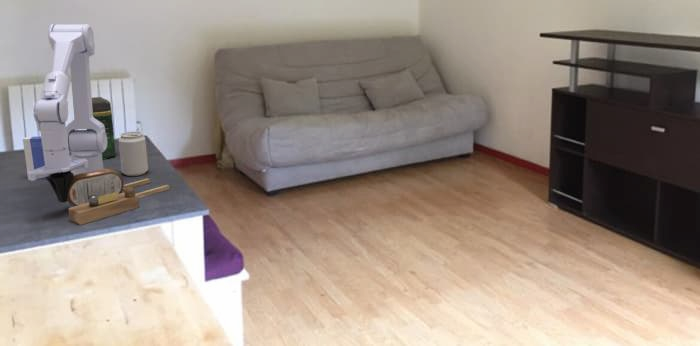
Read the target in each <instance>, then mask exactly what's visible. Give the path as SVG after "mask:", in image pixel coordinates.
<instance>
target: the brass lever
mask: <svg viewBox="0 0 700 346" xmlns="http://www.w3.org/2000/svg"><path fill="white" fill-rule="evenodd" d="M88 199H89V206H98V205H99V204H103V203H107V202H110V201H114V200H118V194H117V193H116V192H113V193H109V194H105V195H101V196H98V195H90V196H88Z"/></svg>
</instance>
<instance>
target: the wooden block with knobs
mask: <svg viewBox="0 0 700 346" xmlns="http://www.w3.org/2000/svg"><path fill="white" fill-rule="evenodd" d="M123 191H124V192H122V193H121V194H118V200H114V201H110V202H107V203H103V204H99V205H98V206H89V203H86V204H82V205H79V206H72V207H69V208H68V216H69V217H68V218H69V221H71V222H73V223H76V224H78V225H80V226H82V225H85V224H89V223H92V222H96V221H99V220H102V219H105V218H108V217H112V216H115V215H118V214H121V213H125V212H127V211H131V210H134V209H138V208H140V200H139V199H140V198H138V196H137V195H135V194H136V192H135V191H136V190H135V187H128V188H125V189H124V190H123Z"/></svg>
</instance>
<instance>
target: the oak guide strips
mask: <svg viewBox="0 0 700 346" xmlns="http://www.w3.org/2000/svg"><path fill="white" fill-rule="evenodd" d="M150 183H151V180H150V178H144V179H141V180H137V181H134V182H130V183H129V182H128V183H127V184H126V183H124V187H123V191H124V189H125V188H128V187H133V188H136V187H139V186H143V185H146V184H150ZM167 190H170V185H168V184H165V185H162V186H159V187H155V188H152V189H148V190H144V191H142V192H138V193H135V195H137V196H138V199H140V198H145V197H147V196H151V195H155V194H157V193H161V192H164V191H167Z"/></svg>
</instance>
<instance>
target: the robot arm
mask: <svg viewBox="0 0 700 346" xmlns="http://www.w3.org/2000/svg"><path fill="white" fill-rule="evenodd" d="M47 33H48V34H47V35H48V41H49V42H48V43H49V45H50V48H51V49H52V51H53V53H52V63H51V64H52V65H51V71H50V72H49V73H47V74H46V75H45V77H44V81H43V84H42V85H43V86H42V90H41V94H40V98H39V99H38V100H37V101H35V102H34V105H33V109H32V110H33V113H32V114H33V115H32V116H33V118H34V121H35V123H36V126H37V127H36V128H37V130H38V132H40V136H41V139H42V146H43V154H44V161H45V166H43V167H40V168H37V169H35V170H32V171H28V172H27V171H26V174H27V180H28V181H31V182H32V181H36V180H39V179H46V180H47V182H48V183H49V184H50V186H51V188H52V189H53V191H54V193H55V196H56V198H57V201H58V202H59V203H63V204H65V203H67V202H68V201H67V196H68V191H69V187H70V184H71V182H72V179H73V178H74V175H76V174H81V173H86V172H92V171H97V170H102V169H104V161H103V160H104V159H102V152H104V151H105V150H106V148H107V135H106V132H105V126H104V124H102V123H101V122H100V121H98V120H97V119H95V118H94V117H93V108H92V98H93V97H92V84H91V82H92V81H91V71H90V69H91V68H90V57H92V56H94V55H95V50H96V49H95V48H96V46H95V34H94V31H93V28H92V27H91V26H90V24H88V23H84V24H77V23H76V24H57V23H52V24H51V25H50V26H49V27H48V32H47ZM69 71H70V78H71V79H70V78H69V77H68V73H69ZM70 86H71V91H72V92H71V93H72V94H71V96H72V105H73V107H72V108H73V116H74V117H73V118H74V119H72V120H71V121H70V122H69V123H68V124H66V123H67V120H68V119H69V118H68V117H69V102H68V100H67V99H68V94H69V89H70ZM86 129H93V130H86ZM70 153H71V155H70ZM43 177H45V178H43Z"/></svg>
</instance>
